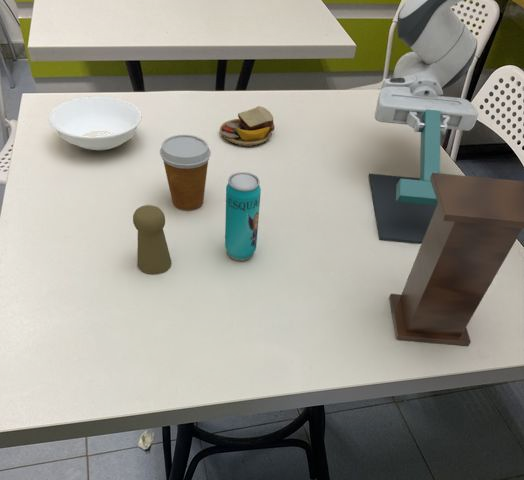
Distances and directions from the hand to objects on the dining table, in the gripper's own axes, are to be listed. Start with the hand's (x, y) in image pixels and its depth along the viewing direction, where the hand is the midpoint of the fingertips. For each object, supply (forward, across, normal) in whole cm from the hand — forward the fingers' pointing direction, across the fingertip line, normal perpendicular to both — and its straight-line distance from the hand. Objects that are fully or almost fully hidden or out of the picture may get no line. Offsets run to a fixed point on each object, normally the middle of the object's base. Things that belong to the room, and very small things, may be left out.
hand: (431, 129), depth 95 cm
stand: (+37, +2, -16) cm, 40 cm away
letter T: (+4, 0, -4) cm, 6 cm away
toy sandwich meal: (-23, +37, -16) cm, 46 cm away
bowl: (-12, +70, -16) cm, 72 cm away
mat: (+3, 0, -16) cm, 16 cm away
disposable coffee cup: (+8, +47, -16) cm, 50 cm away
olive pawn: (+28, +50, -16) cm, 59 cm away
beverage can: (+23, +35, -16) cm, 45 cm away
